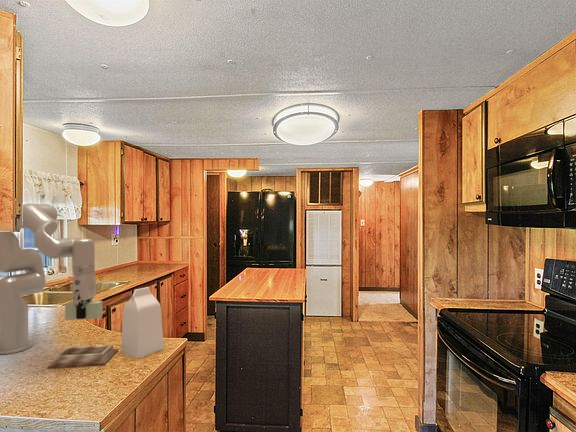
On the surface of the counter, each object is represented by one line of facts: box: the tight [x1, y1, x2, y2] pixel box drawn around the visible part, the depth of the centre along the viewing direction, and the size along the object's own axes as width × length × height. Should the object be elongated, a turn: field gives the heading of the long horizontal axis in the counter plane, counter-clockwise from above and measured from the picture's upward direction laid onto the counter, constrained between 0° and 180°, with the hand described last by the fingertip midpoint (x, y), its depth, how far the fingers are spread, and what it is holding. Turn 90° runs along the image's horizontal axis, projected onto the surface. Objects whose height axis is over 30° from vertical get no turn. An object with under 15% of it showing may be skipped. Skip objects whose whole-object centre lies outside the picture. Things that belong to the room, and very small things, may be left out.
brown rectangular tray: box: [47, 344, 119, 370], centre depth 130 cm, size 20×13×4 cm, turn 97°
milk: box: [120, 286, 165, 360], centre depth 139 cm, size 12×12×26 cm
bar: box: [64, 300, 104, 321], centre depth 130 cm, size 4×12×6 cm, turn 97°
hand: (84, 316), depth 130 cm, fingers closed on bar, 4 cm apart
